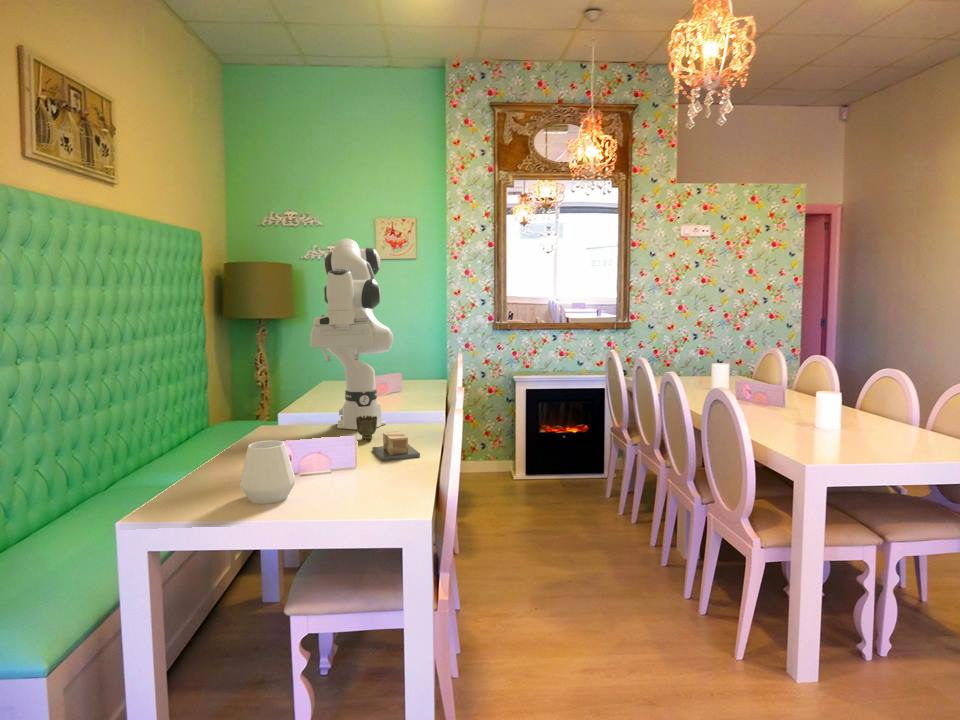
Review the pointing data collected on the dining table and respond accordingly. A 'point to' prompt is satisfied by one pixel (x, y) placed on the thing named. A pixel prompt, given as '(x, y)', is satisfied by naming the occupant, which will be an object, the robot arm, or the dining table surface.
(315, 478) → the dining table surface
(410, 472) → the dining table surface
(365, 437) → the cup
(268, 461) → the cream vase
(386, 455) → the slate base plate
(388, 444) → the block
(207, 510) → the dining table surface
